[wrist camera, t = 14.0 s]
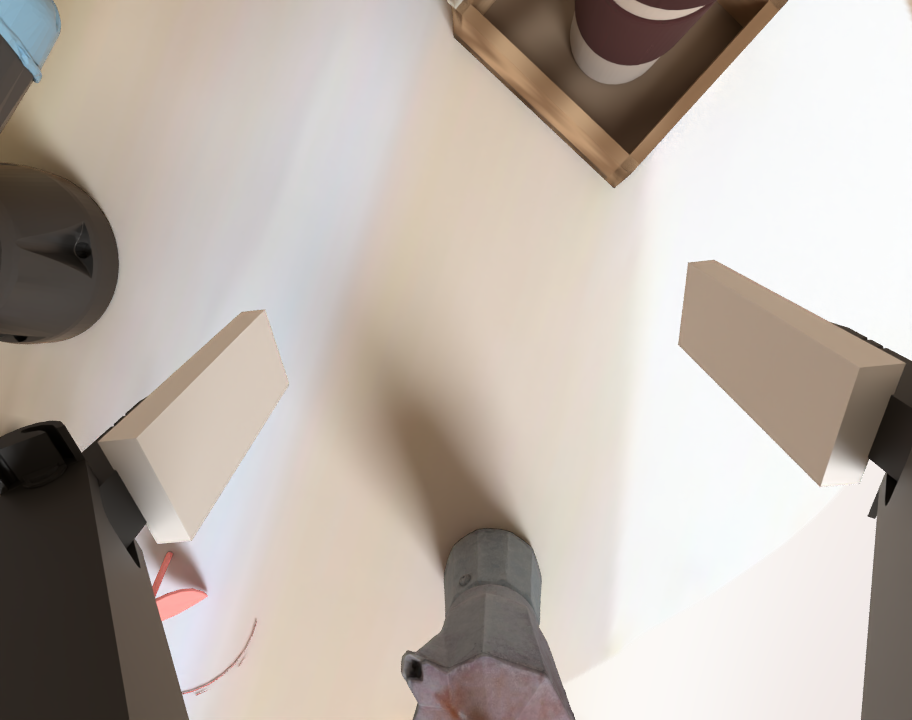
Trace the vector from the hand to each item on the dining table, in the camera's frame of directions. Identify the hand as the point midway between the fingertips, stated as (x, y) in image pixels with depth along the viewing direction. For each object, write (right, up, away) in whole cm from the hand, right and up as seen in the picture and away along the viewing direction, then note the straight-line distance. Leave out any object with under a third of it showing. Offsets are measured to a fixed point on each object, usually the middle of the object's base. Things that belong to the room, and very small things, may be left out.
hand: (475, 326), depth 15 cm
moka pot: (+3, -21, +29) cm, 36 cm away
